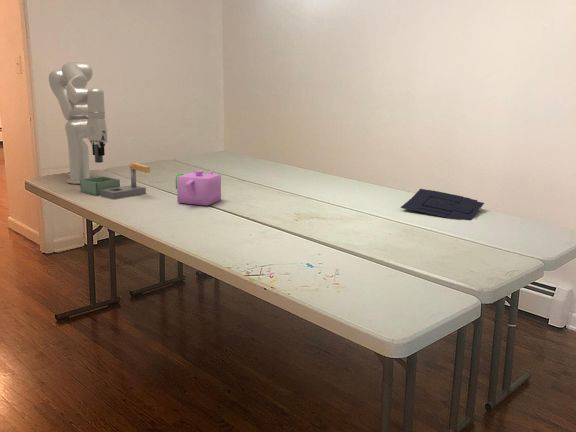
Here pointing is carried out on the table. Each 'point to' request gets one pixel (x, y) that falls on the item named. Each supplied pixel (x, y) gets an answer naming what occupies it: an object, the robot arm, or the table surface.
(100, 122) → the robot arm
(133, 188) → the grey post stand
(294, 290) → the table surface
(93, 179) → the bin
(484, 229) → the table surface
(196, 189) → the teapot
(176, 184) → the mechanical part
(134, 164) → the keeper arm
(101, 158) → the plug
